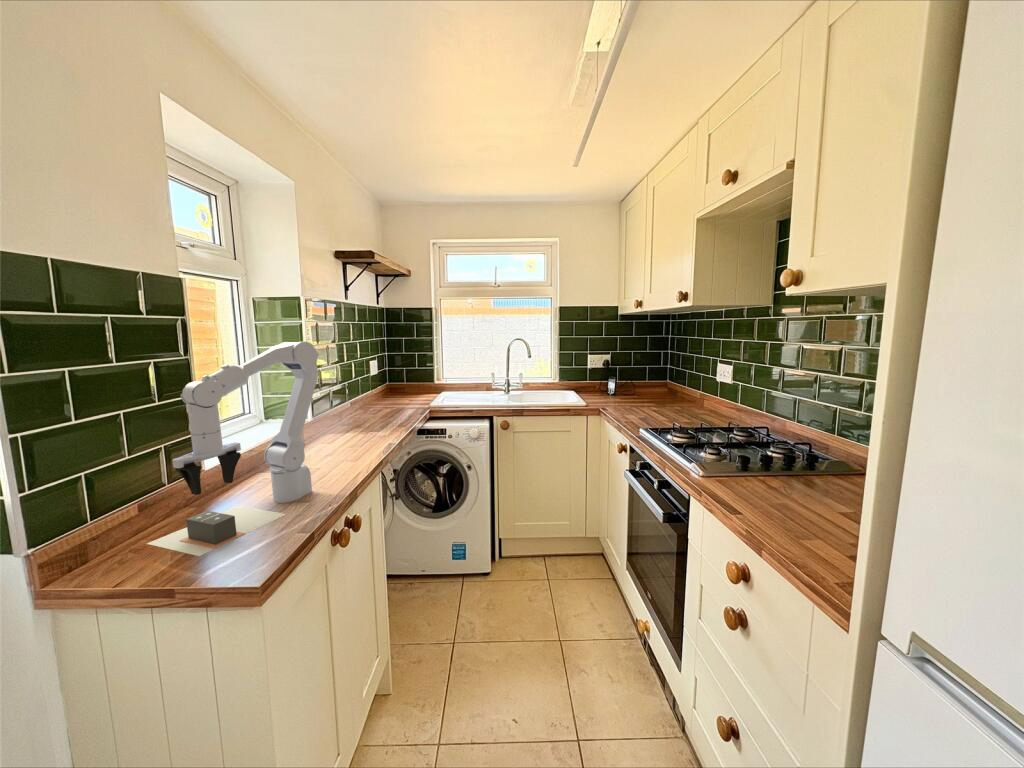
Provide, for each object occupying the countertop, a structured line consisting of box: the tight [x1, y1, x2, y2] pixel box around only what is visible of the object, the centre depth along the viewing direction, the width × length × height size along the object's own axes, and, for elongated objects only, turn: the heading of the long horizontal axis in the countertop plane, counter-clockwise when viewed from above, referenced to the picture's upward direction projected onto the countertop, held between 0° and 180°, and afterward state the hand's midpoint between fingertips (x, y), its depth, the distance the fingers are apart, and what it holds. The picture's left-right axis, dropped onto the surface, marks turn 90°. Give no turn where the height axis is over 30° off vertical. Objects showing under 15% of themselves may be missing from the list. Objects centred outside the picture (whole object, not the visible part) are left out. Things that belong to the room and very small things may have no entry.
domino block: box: [185, 510, 237, 545], centre depth 93 cm, size 9×5×5 cm, turn 69°
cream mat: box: [146, 505, 287, 557], centre depth 98 cm, size 21×17×1 cm
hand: (212, 488), depth 100 cm, fingers open, 7 cm apart
